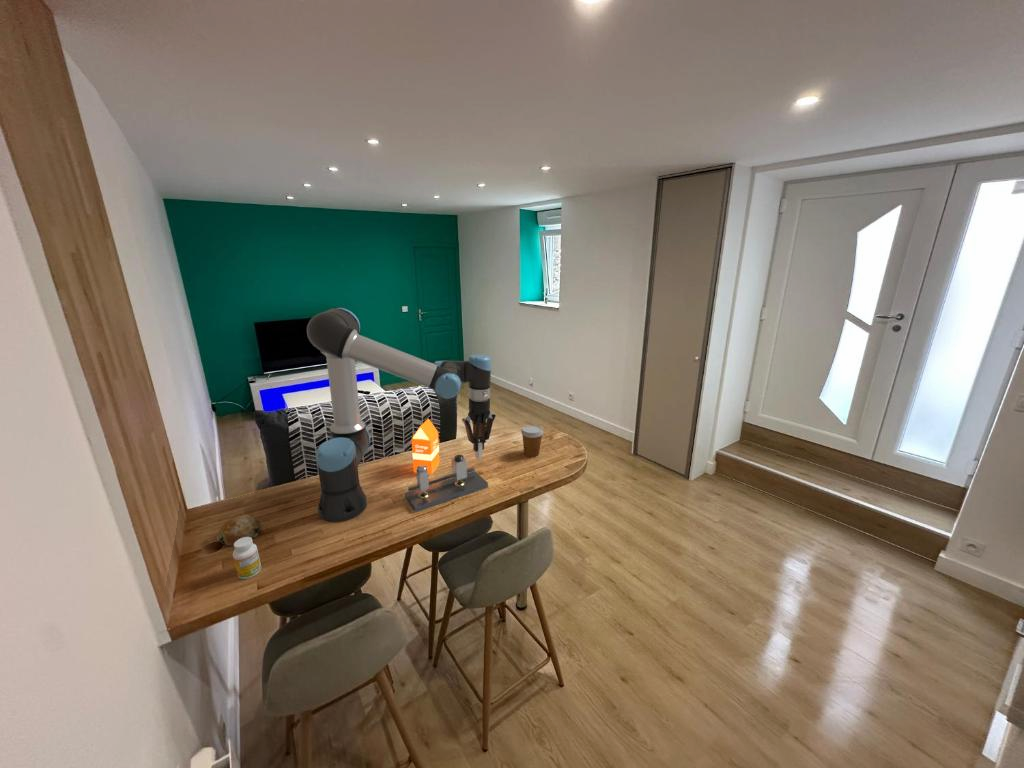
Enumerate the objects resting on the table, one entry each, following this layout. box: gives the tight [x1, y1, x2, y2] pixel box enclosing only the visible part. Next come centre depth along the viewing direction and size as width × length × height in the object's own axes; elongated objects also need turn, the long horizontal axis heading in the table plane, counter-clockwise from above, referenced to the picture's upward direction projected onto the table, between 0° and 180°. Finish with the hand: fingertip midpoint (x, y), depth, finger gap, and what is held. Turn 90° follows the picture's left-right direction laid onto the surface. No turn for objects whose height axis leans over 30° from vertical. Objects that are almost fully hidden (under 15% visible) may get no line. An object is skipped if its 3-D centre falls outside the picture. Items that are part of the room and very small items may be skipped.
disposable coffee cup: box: [520, 424, 544, 458], centre depth 171 cm, size 10×10×12 cm
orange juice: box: [411, 418, 440, 475], centre depth 157 cm, size 8×9×20 cm
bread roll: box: [216, 514, 260, 547], centre depth 119 cm, size 10×10×8 cm
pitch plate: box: [404, 465, 489, 513], centre depth 141 cm, size 28×10×13 cm, turn 124°
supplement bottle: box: [232, 537, 262, 580], centre depth 105 cm, size 5×5×10 cm
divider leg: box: [451, 454, 468, 482], centre depth 143 cm, size 4×4×10 cm
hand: (478, 458), depth 148 cm, fingers closed
